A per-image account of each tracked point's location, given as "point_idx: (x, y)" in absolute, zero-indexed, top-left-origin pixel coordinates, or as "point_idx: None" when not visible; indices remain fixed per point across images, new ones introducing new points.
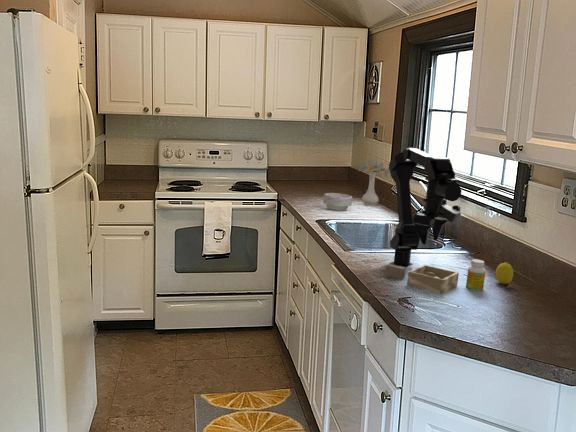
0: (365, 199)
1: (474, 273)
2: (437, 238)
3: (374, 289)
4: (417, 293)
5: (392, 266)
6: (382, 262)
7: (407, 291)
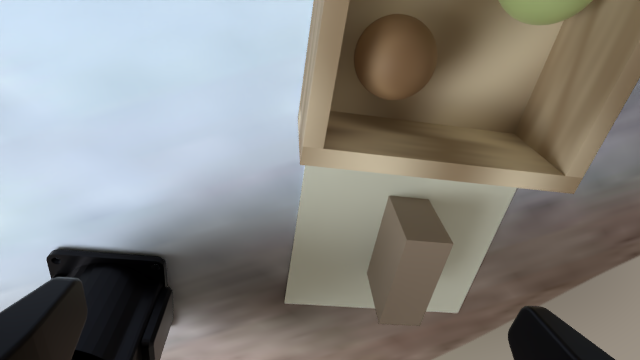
0: None
1: None
2: (57, 297)
3: (632, 241)
4: None
5: (428, 297)
6: None
7: None
